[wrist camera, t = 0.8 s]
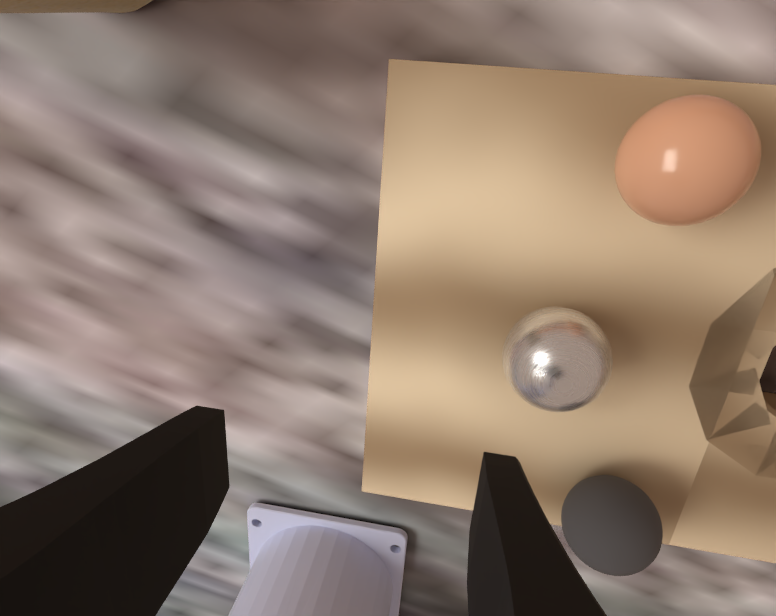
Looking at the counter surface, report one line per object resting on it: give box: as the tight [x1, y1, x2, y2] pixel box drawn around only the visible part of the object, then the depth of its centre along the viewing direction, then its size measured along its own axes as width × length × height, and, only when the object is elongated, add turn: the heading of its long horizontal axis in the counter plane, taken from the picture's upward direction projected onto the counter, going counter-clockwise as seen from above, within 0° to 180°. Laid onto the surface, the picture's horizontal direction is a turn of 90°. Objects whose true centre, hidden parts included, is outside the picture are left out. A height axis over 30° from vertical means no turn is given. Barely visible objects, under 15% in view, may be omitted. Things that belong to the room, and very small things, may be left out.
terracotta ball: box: [614, 95, 761, 226], centre depth 13 cm, size 3×3×3 cm
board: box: [362, 59, 776, 563], centre depth 18 cm, size 16×20×2 cm
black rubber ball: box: [561, 475, 663, 576], centre depth 17 cm, size 3×3×3 cm
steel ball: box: [502, 307, 613, 412], centre depth 15 cm, size 3×3×3 cm
